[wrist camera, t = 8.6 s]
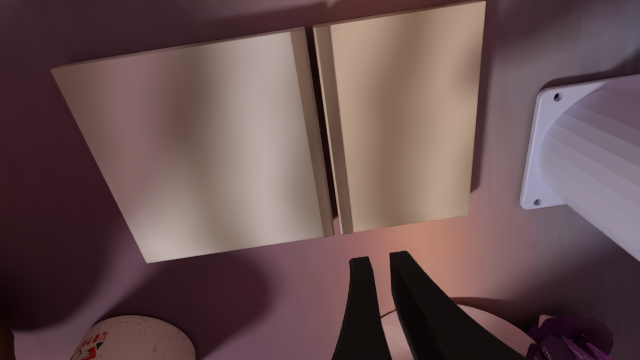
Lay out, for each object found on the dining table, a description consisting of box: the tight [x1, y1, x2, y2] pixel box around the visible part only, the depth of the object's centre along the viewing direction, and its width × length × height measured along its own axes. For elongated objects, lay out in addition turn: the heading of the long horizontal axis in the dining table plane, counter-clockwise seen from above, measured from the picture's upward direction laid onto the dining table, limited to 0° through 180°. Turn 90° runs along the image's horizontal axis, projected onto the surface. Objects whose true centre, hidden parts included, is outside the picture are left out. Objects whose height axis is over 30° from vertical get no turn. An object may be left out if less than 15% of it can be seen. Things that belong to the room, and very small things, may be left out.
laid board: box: [312, 0, 486, 235], centre depth 19 cm, size 8×12×2 cm, turn 8°
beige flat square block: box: [50, 27, 335, 263], centre depth 20 cm, size 12×12×2 cm
